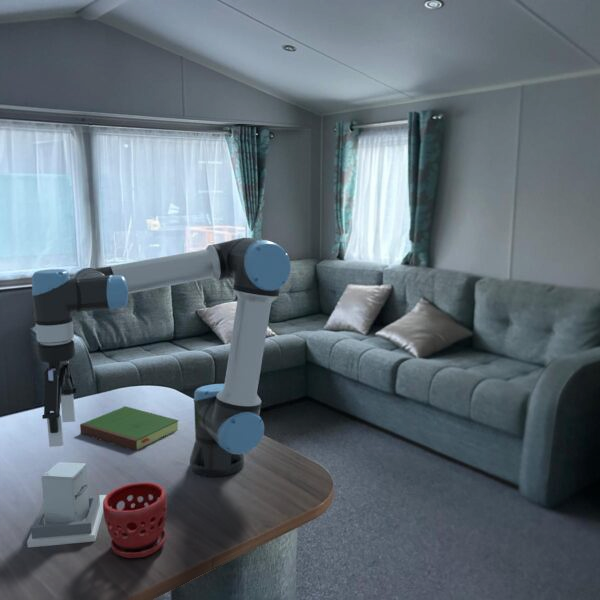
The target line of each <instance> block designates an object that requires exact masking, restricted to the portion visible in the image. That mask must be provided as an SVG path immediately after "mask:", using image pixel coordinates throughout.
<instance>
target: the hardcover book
mask: <svg viewBox="0 0 600 600" xmlns="http://www.w3.org/2000/svg"><path fill="white" fill-rule="evenodd" d="M178 422H179V419H175V418H171V417H167V416H164V415H160V414H156V413H153V412H148V411H144V410H140V409H137V408H134V407H129V406H127V405H126V406H123V407H120V408H118V409H115V410H112V411H110V412H108V413H105V414H103V415H100V416H98V417H96V418H92V419H90V420H88V421H85V422H82V423H80V424H79V427H80V435H82V434H83V436H85V435H87V436H86V437H89V436H90V437H89V438H92V437H94V438H93V439H95V438H97V439H96V440H98V439H101V440H100V441H102V440H103V441H102V442H105V441H106V442H105V443H108V442H109V443H108V444H111V443H112V445H114V446H118V447H121V448H124V449H128V450H131V451H134V452H137V451H138V450H139V449H141V448H144V447H146V446H148V445H150V444H152V443H154V442H156V441H158V440H160V439H162V438H164V437H166V436H168V435H171V434H173V433H174V432H176V431H179V428H178V427H179V426H178ZM165 435H166V436H165ZM163 436H164V437H163ZM161 437H162V438H161ZM159 438H160V439H159Z"/></svg>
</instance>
